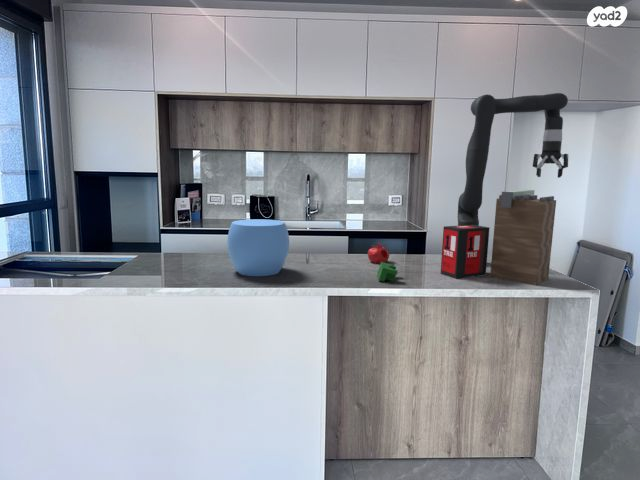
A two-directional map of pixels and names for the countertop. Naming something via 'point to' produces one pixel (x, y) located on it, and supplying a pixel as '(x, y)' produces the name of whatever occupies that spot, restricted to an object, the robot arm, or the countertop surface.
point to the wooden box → (523, 239)
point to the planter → (258, 246)
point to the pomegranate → (378, 254)
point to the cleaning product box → (464, 251)
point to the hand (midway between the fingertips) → (548, 177)
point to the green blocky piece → (386, 272)
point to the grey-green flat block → (513, 196)
